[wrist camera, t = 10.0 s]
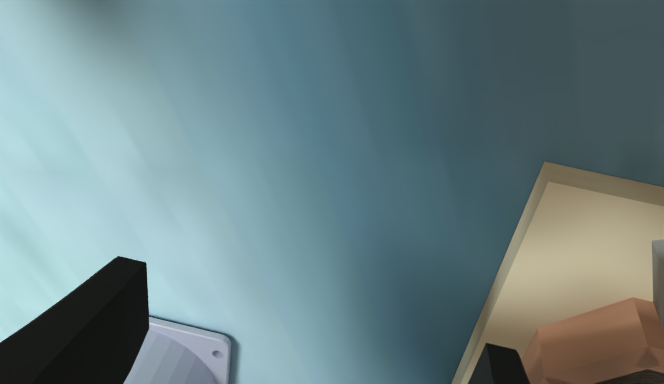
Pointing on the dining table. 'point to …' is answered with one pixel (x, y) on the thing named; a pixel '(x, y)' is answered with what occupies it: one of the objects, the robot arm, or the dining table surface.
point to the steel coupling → (637, 378)
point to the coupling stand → (579, 282)
